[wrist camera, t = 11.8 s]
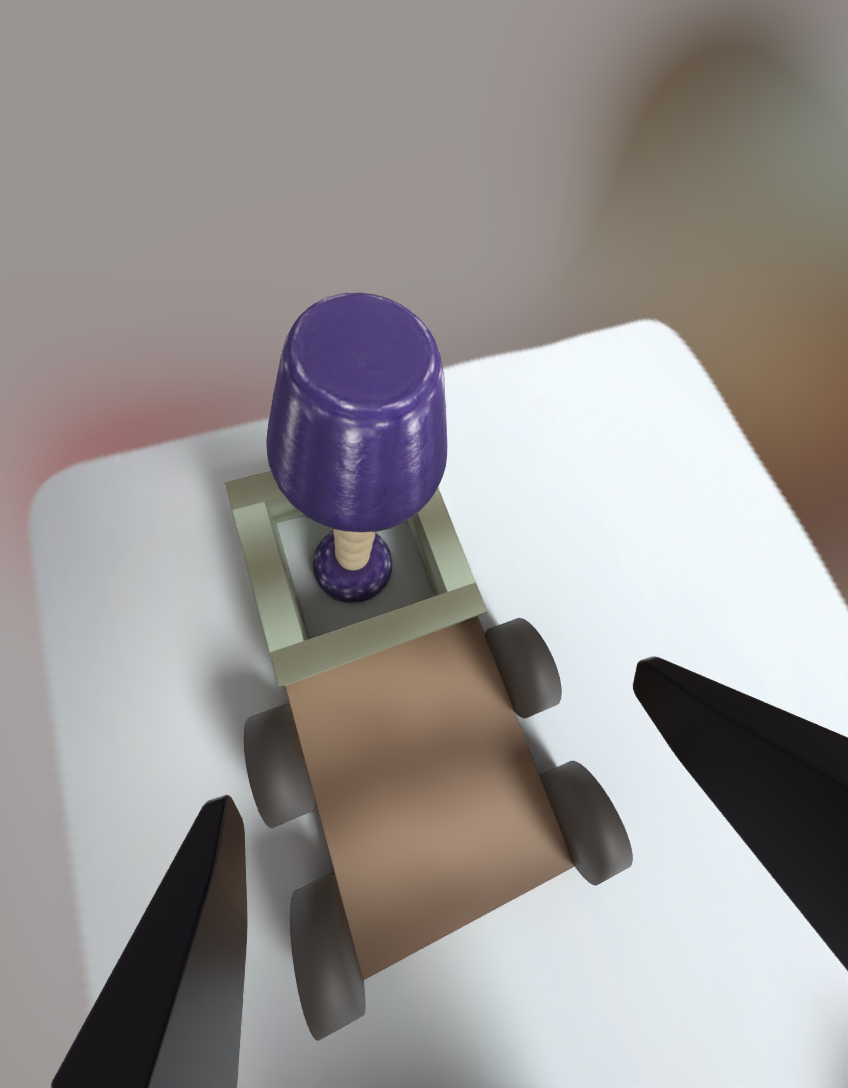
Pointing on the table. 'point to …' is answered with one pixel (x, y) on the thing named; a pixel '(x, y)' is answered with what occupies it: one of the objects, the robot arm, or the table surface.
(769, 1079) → the table surface
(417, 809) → the chassis
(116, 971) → the robot arm
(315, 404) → the toy lamp
